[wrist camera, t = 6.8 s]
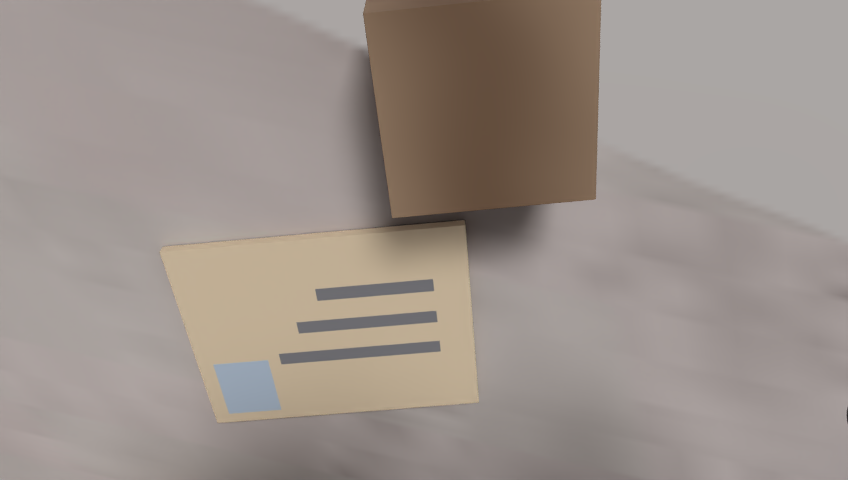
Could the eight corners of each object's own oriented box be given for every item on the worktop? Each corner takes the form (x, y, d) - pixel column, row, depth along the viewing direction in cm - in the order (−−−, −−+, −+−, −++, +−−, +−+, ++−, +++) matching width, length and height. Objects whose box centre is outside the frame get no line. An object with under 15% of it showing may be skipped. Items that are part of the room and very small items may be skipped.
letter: (464, 219, 21) (465, 225, 21) (478, 396, 25) (478, 402, 25) (162, 246, 22) (159, 252, 21) (219, 416, 25) (217, 423, 25)
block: (560, -54, 17) (601, -12, 14) (560, 120, 20) (595, 199, 16) (374, -34, 18) (362, 13, 14) (396, 137, 20) (392, 218, 16)
